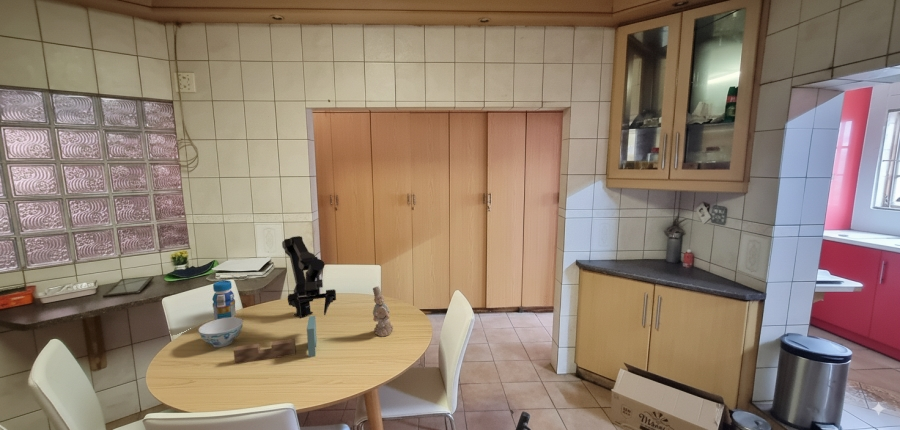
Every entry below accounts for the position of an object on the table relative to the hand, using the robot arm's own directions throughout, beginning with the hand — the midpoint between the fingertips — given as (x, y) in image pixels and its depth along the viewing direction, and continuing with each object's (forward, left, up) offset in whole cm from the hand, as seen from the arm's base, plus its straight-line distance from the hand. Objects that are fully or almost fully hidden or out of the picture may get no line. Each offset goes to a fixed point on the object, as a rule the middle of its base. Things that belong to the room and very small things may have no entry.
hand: (312, 316), depth 143 cm
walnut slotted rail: (-4, -18, -10) cm, 21 cm away
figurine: (+20, +20, -10) cm, 30 cm away
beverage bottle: (-45, -12, -10) cm, 48 cm away
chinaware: (-29, -21, -10) cm, 37 cm away
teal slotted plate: (+6, -5, -10) cm, 13 cm away
